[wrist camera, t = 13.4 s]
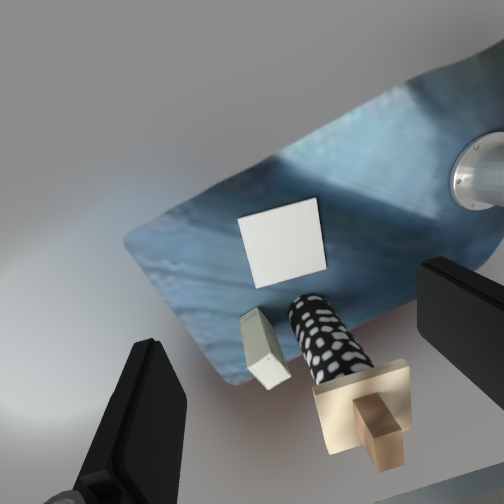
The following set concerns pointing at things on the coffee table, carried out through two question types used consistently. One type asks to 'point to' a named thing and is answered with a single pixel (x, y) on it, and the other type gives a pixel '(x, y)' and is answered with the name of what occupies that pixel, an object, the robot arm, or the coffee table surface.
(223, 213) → the coffee table surface
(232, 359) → the coffee table surface
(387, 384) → the lid
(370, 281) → the coffee table surface
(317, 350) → the spotted tube
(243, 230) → the mat
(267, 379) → the skincare box
